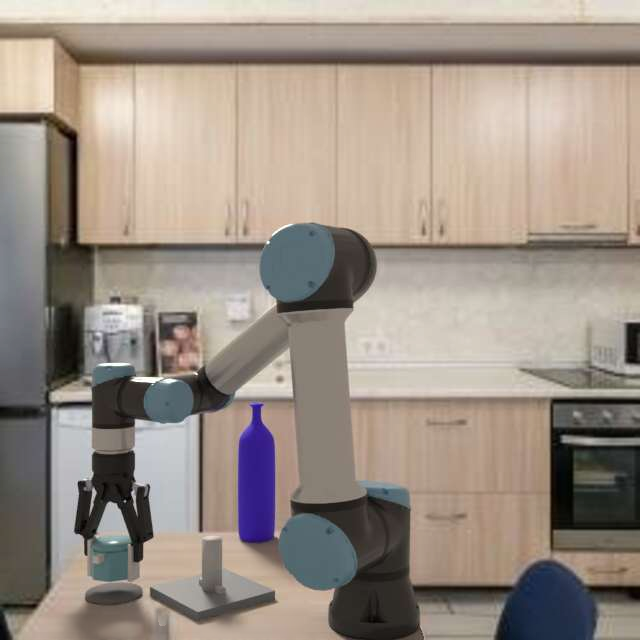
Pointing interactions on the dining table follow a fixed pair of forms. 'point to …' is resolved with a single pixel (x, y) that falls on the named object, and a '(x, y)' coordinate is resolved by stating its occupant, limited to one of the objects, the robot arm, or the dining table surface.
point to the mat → (113, 593)
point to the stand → (211, 587)
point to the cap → (109, 558)
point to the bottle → (256, 481)
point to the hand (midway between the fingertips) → (113, 576)
